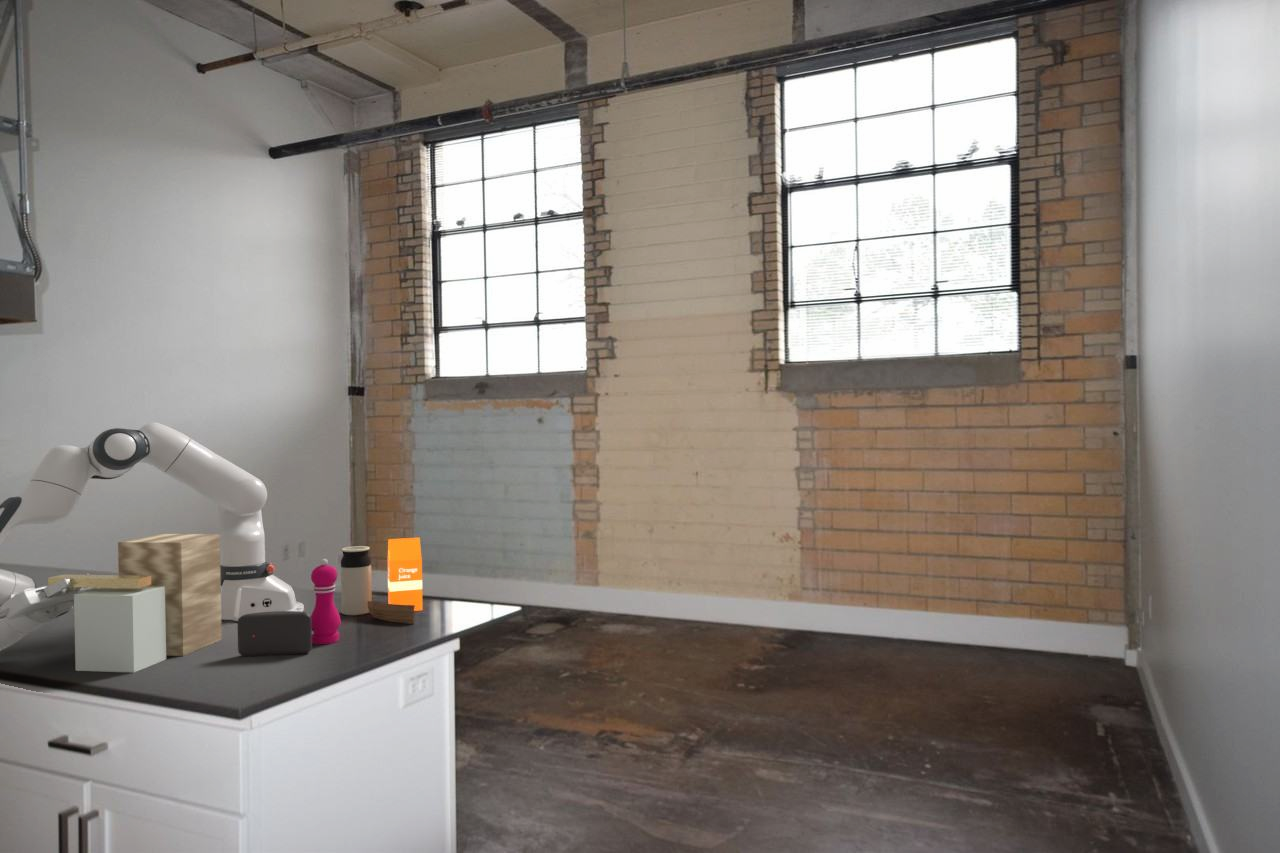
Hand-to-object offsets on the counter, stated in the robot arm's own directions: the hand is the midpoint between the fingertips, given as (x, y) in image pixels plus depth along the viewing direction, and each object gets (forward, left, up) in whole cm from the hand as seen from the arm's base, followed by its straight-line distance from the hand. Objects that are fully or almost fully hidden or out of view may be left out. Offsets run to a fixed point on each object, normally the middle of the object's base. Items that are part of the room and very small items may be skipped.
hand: (78, 578), depth 190 cm
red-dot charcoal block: (-40, +11, -19) cm, 46 cm away
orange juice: (-73, -25, -19) cm, 80 cm away
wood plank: (-68, -12, -19) cm, 72 cm away
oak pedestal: (-17, -7, -19) cm, 27 cm away
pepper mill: (-51, +3, -19) cm, 55 cm away
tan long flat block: (-5, +3, -1) cm, 5 cm away
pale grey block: (-9, +5, -19) cm, 22 cm away
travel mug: (-60, -26, -19) cm, 68 cm away
